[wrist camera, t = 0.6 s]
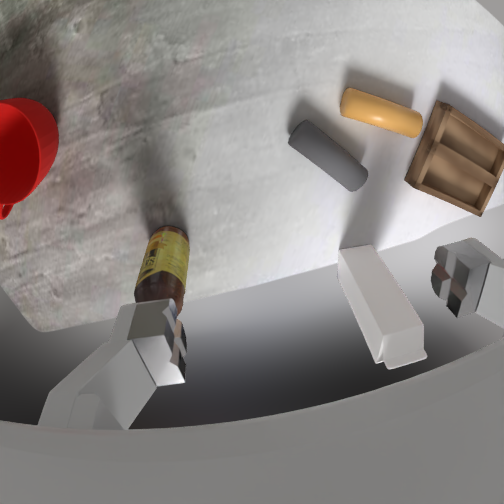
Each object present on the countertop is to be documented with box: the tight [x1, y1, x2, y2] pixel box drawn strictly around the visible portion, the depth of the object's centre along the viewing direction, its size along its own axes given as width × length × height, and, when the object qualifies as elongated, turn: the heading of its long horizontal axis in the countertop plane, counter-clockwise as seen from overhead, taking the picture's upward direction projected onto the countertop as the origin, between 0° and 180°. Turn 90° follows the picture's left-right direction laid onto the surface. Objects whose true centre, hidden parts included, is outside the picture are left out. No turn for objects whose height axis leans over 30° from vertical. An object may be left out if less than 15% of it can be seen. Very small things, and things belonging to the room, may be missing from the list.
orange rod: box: [340, 88, 423, 138], centre depth 37 cm, size 11×4×4 cm, turn 79°
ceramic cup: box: [0, 98, 59, 219], centre depth 32 cm, size 13×17×10 cm
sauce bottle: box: [134, 226, 190, 316], centre depth 39 cm, size 7×6×20 cm
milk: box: [337, 245, 427, 369], centre depth 44 cm, size 6×6×22 cm
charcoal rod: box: [288, 120, 368, 192], centre depth 40 cm, size 11×4×4 cm, turn 54°
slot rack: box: [405, 101, 504, 217], centre depth 42 cm, size 14×18×3 cm
